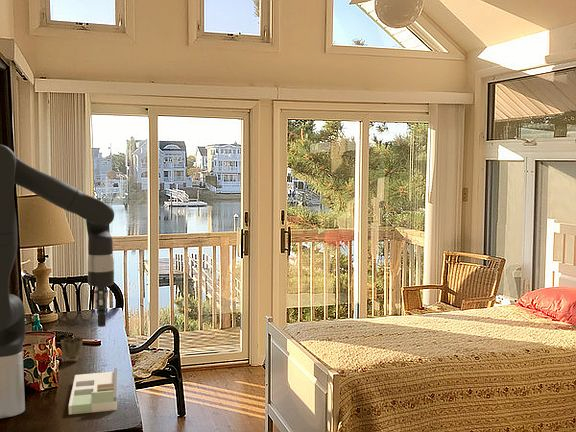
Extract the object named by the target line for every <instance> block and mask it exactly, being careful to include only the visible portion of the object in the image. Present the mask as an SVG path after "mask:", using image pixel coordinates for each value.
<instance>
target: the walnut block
mask: <svg viewBox="0 0 576 432" xmlns="http://www.w3.org/2000/svg"><path fill="white" fill-rule="evenodd" d="M111 390H113V392H114V383H111V384H100V385H98V386H97V392H100V391H111Z"/></svg>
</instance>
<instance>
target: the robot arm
mask: <svg viewBox="0 0 576 432" xmlns="http://www.w3.org/2000/svg"><path fill="white" fill-rule="evenodd" d="M15 185H18V186H19V187H22V188H24V189H26V190H28V191H29V192H31V193H33V194H35V195H37V196H39V197H40V198H42V199H44V200H45V201H47V202H49V203H51V204H53V205H55V206H57V207H59V208H60V209H63V210H64V211H67V212H70V213H71V214H75V215H76V216H79V217H80V218H82V219H84V220H85V224H86V231H87V237H88V238H87V239H88V242H87V243H88V244H87V250H88V251H87V254H88V255H87V285H89V286H90V287H96V289H95V290H94V291H93V293H94V294H93V296H94V303H95V308H96V314H97V326H98V327H99V328H103V327H106V322H107V319H106V314H107V307H108V298H109V289H106V287H109V286H112V285H114V283H115V260H114V254H113V253H114V249H113V247H114V246H113V237H112V236H111V233H110V232H111V231H110V228H111V227H110V225H111V223H112V222H113V221H114V220H115V219H114V218H115V211H114V209H113V207H112V206H111V205H109V203H107V202H104V201H103V200H100V199H98V198H95V197H93V196H90V195H88V194H86V193H85V192H83V191H81V190H80V189H79V188H76V187H75V186H73V185H72V184H69V183H68V182H65V181H64V180H63V181H62V180H61V179H58V178H56V177H54V176H52V175H49V174H47V173H45V172H43V171H40V170H38V169H36V168H34V167H32V166H31V165H29V164H27V163H25V162H24V161H22V160H21V159H20V158H19V157H17V156H16V155H15V153H14V151H13V150H12V149H11V148H9V147H8V146H6V145H4V144H0V419H5V418H10V417H15V416H17V415H20V414H22V413H24V412H25V411H26V401H25V381H24V379H25V375H24V373H25V372H24V354H23V353H24V351H23V349H24V348H23V345H24V341H25V339H26V338H25V337H26V309H25V305H24V302H23V301H22V300H21V298H20V297H19V296H17V295H16V294H12V293H10V291H9V290H10V289H9V288H10V284H9V283H10V278H11V273H12V270H13V267H14V264H15V260H16V257H17V253H18V246H19V245H18V243H19V242H18V223H17V222H18V221H17V212H16V204H15V199H14V198H15V195H14V192H15V191H14V190H15V189H14V188H15Z"/></svg>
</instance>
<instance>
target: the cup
mask: <svg viewBox="0 0 576 432" xmlns="http://www.w3.org/2000/svg"><path fill="white" fill-rule="evenodd" d="M83 340H84V339H83V338H82V337H80V336H73V338H71V337H69V336H68V337H63V339H62V338H61V340H60V345H61V351H62V354H63V356H64V357H65V358H66V361H67V362H68V363H69V362H70V363H73V362H77V361H78V359H79V356H80V355H81V354H82V350H83Z"/></svg>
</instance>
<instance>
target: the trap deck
mask: <svg viewBox="0 0 576 432" xmlns="http://www.w3.org/2000/svg"><path fill="white" fill-rule="evenodd" d="M111 383H114V392H113V390H111V391H100V392H97V386H98V385H100V384H111ZM71 388H72V389H71V392H70V397H69V402H68V415H78V414H79V415H80V414H88V413H98V412H100V413H101V412H107V411H108V412H109V411H117V410H118V368H117V367H114V370H113V371H106V372H96V373H95V372H94V373H92V372H91V373H83V374H75V375H74V379H73V384H72V387H71Z"/></svg>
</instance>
